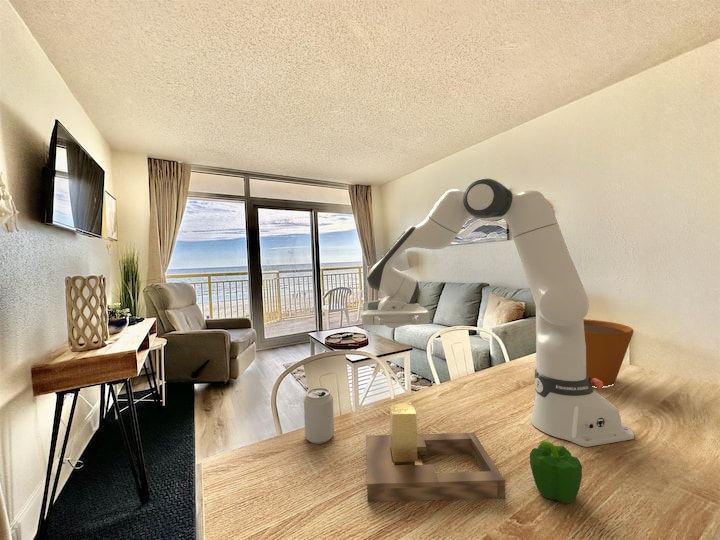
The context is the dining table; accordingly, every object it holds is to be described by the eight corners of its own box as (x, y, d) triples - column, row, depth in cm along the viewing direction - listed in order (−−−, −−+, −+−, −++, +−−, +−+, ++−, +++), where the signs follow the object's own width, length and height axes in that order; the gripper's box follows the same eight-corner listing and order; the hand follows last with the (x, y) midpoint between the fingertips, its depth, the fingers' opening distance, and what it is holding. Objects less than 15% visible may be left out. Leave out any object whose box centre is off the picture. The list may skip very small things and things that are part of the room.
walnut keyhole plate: (474, 446, 74) (473, 432, 74) (505, 498, 58) (505, 480, 58) (366, 449, 74) (365, 435, 74) (367, 501, 58) (367, 483, 58)
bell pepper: (578, 486, 61) (578, 436, 60) (585, 517, 53) (585, 460, 53) (530, 473, 65) (529, 426, 64) (530, 500, 57) (529, 447, 57)
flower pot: (604, 400, 95) (604, 336, 95) (535, 374, 118) (535, 322, 117) (649, 386, 104) (649, 328, 103) (578, 365, 126) (577, 316, 126)
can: (329, 447, 76) (327, 398, 75) (300, 444, 77) (298, 397, 77) (337, 430, 83) (336, 386, 83) (311, 428, 85) (309, 385, 84)
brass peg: (419, 459, 70) (417, 399, 70) (426, 484, 62) (425, 417, 62) (384, 460, 70) (382, 400, 70) (387, 485, 62) (385, 418, 62)
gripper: (360, 304, 100) (360, 312, 86) (423, 303, 100) (433, 310, 86) (361, 324, 100) (361, 334, 87) (424, 322, 100) (434, 332, 86)
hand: (397, 322), depth 86 cm, fingers open, 8 cm apart
